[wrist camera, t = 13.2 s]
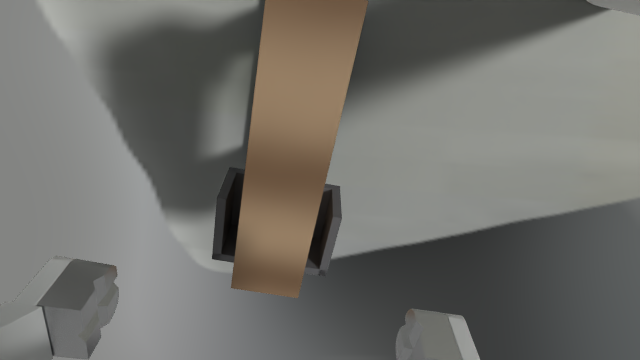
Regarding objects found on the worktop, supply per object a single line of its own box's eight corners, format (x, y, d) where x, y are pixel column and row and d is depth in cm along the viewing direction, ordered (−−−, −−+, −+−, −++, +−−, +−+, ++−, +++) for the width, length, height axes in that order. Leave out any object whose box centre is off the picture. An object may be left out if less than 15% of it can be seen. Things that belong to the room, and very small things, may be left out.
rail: (283, -30, 19) (267, -21, 14) (356, -14, 20) (368, 1, 14) (249, 221, 27) (231, 287, 22) (302, 230, 27) (297, 298, 22)
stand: (274, -69, 27) (239, -79, 16) (376, -46, 28) (412, -39, 16) (246, 165, 36) (211, 265, 25) (324, 178, 37) (324, 282, 25)
